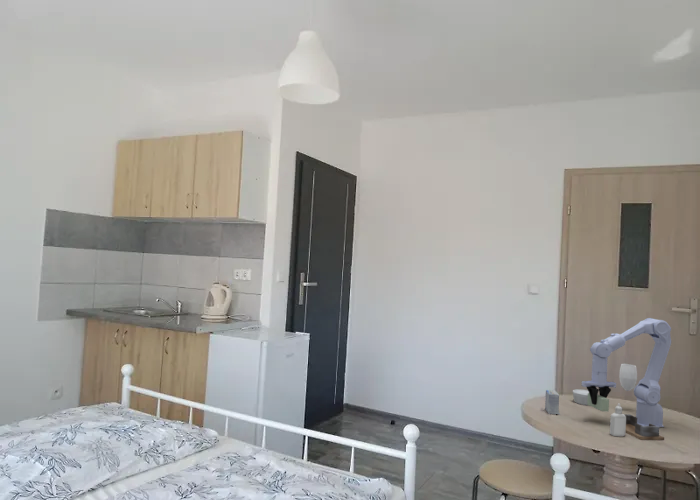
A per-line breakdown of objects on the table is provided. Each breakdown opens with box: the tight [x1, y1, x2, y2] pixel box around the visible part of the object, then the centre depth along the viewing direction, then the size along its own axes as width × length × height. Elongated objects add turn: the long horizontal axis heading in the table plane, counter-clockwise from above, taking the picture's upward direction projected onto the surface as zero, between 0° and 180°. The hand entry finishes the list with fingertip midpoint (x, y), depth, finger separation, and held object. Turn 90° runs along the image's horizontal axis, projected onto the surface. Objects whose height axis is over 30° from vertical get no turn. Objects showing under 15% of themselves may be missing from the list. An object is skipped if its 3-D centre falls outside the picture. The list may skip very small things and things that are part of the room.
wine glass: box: [618, 363, 638, 392], centre depth 239 cm, size 7×7×21 cm
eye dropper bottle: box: [609, 403, 626, 437], centre depth 201 cm, size 4×6×12 cm
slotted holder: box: [623, 413, 665, 441], centre depth 206 cm, size 10×18×4 cm, turn 8°
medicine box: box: [544, 389, 560, 415], centre depth 229 cm, size 8×4×9 cm, turn 168°
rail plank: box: [586, 393, 610, 413], centre depth 218 cm, size 3×10×5 cm, turn 9°
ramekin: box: [572, 389, 590, 407], centre depth 249 cm, size 11×11×5 cm
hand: (597, 404), depth 218 cm, fingers closed on rail plank, 3 cm apart
